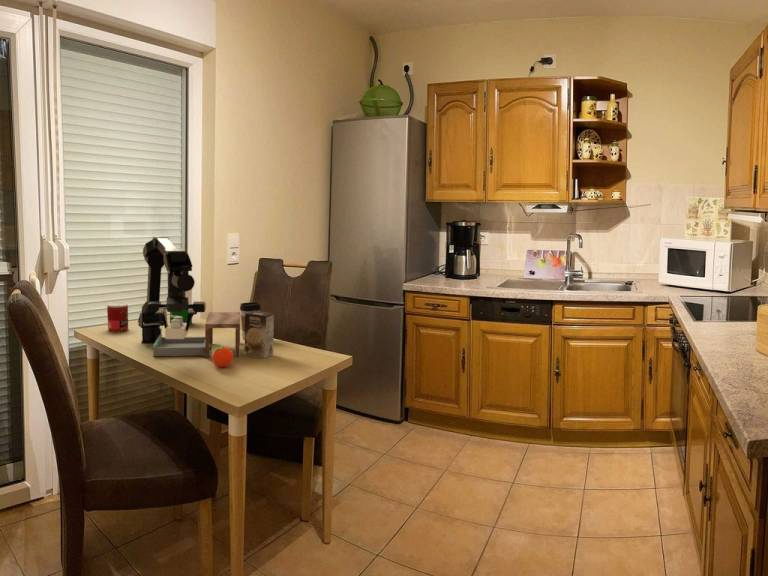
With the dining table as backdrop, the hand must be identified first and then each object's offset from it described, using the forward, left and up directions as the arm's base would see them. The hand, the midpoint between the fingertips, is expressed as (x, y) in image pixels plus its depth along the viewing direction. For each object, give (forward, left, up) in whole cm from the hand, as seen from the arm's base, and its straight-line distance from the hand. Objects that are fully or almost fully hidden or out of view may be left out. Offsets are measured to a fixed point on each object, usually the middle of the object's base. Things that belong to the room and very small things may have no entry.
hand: (177, 331), depth 199 cm
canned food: (-29, +51, -12) cm, 60 cm away
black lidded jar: (+25, +33, -12) cm, 43 cm away
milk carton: (-5, +61, -12) cm, 62 cm away
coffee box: (+28, +8, -12) cm, 31 cm away
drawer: (0, +16, -11) cm, 19 cm away
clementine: (+15, -6, -12) cm, 20 cm away
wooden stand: (+15, +16, -11) cm, 25 cm away
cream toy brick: (0, 0, -2) cm, 2 cm away
